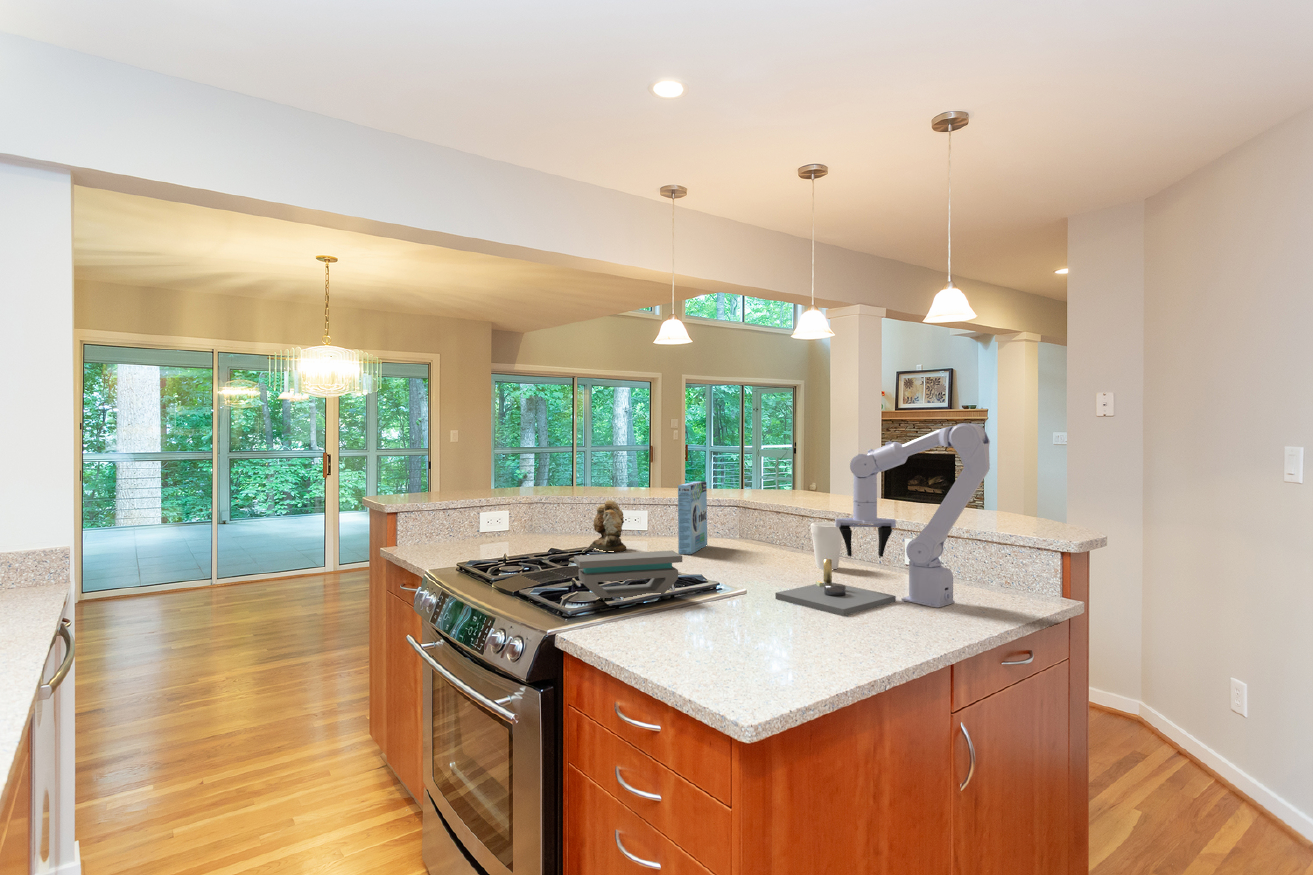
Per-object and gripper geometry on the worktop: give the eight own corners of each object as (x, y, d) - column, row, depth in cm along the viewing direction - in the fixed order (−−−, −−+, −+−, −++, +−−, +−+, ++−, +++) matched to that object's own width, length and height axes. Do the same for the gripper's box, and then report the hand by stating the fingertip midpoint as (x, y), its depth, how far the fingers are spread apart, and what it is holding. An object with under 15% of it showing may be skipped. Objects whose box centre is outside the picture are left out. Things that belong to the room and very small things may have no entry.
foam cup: (807, 569, 205) (806, 525, 204) (815, 564, 213) (815, 521, 213) (839, 572, 200) (839, 527, 200) (846, 566, 208) (846, 523, 208)
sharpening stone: (672, 593, 175) (672, 550, 175) (682, 600, 168) (682, 555, 168) (574, 600, 168) (573, 555, 168) (579, 608, 161) (579, 561, 161)
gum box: (691, 554, 229) (691, 485, 229) (677, 554, 231) (676, 485, 230) (707, 545, 247) (707, 481, 247) (694, 544, 249) (694, 481, 249)
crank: (848, 596, 165) (848, 566, 165) (827, 596, 165) (827, 566, 165) (836, 586, 176) (836, 558, 175) (816, 586, 176) (816, 558, 175)
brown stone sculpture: (582, 546, 246) (582, 498, 246) (612, 544, 252) (612, 497, 252) (601, 554, 230) (601, 502, 230) (633, 551, 236) (634, 501, 236)
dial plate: (895, 601, 166) (895, 592, 166) (843, 615, 154) (843, 605, 153) (827, 587, 182) (827, 578, 182) (775, 598, 169) (775, 589, 169)
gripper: (838, 503, 171) (838, 558, 172) (898, 503, 170) (898, 559, 170) (833, 500, 178) (833, 553, 179) (892, 500, 177) (891, 554, 177)
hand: (865, 555), depth 175 cm, fingers open, 7 cm apart
